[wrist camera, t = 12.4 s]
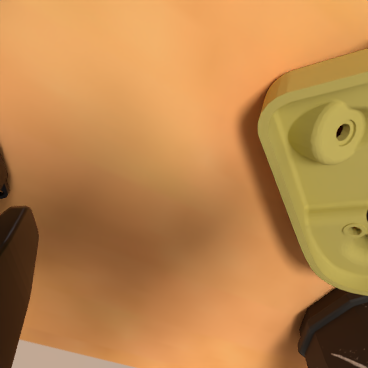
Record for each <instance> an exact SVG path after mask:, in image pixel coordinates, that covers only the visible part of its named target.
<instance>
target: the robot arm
mask: <svg viewBox="0 0 368 368" xmlns="http://www.w3.org/2000/svg"><path fill="white" fill-rule="evenodd" d="M7 176H8V174H7V171H6V168H5V166H4V163H3V160H2V157H1V154H0V190H1V191H3V192H0V199H3V198H6V197H7V196H8V194H9V191H10V189H9V186H8V183H7V181H6V178H7ZM366 218H367V222H368V210H367V213H366ZM38 240H39V234H38V229H37V226H36V222H35V219H34V216H33V213H32V210H31V208H30V207H28V206H14V207H10V208H8V209H7V210H6V211H5V212H3V213H2V214H1V215H0V368H11V367H12V364H13V360H14V356H15V353H16V349H17V345H18V341H19V338H20V334H21V330H22V327H23V323H24V319H25V316H26V312H27V308H28V304H29V300H30V295H31V289H32V282H33V275H34V268H35V261H36V254H37V247H38Z"/></svg>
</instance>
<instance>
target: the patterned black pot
mask: <svg viewBox="0 0 368 368" xmlns="http://www.w3.org/2000/svg"><path fill="white" fill-rule="evenodd" d="M299 331H300V336H301V338H300V340H299V343H298V351H299V353H300V354H301V355H303V356H304V357H305V358H306V362H307V365H308V368H368V296H366V295H360V294H355V293H351V292H347V291H344V290H341V289H339V288H335V289H334V290H333V291H331V292H330V293H328V294H327V295H326V296H324V297H323V298H321V299H320V300H319V301H317V302H316V303H314V304H313V305H312V306H310V307H309V308H308V309H307V312H306V314H305V317H304V319H303V322H302V324H301V327H300V329H299Z"/></svg>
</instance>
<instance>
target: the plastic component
mask: <svg viewBox="0 0 368 368" xmlns="http://www.w3.org/2000/svg"><path fill="white" fill-rule="evenodd" d="M342 124H343V130H342V132H341V134H340V135H339V136H338V137H337V138H336V132H337V130H338V128H339V127H340V126H341V125H342ZM258 136H259V138H260V141H261V144H262V146H263V149H264V152H265V154H266V157H267V160H268V162H269V165H270V168H271V170H272V173H273V176H274V178H275V181H276V184H277V186H278V189H279V192H280V194H281V197H282V200H283V202H284V205H285V208H286V210H287V213H288V216H289V218H290V221H291V223H292V226H293V229H294V231H295V234H296V237H297V239H298V242H299V245H300V247H301V249H302V252H303V254H304V256H305V258H306V260H307V262H308V264H309V266H310V267H311V269H312V270H313V271H314V272H315V273H316V275H317V276H319V277H320V278H321V279H322V280H324V281H325V282H326V283H328V284H330V285H332V286H334V287H336V288H339V289H341V290H344V291H347V292H351V293H355V294H360V295H366V296H368V222H367V218H366V213H367V210H368V48H367V49H363V50H360V51H356V52H353V53H350V54H346V55H343V56H340V57H336V58H333V59H329V60H326V61H323V62H319V63H316V64H312V65H309V66H306V67H302V68H299V69H296V70H292V71H290V72H288V73H286V74H284V75H282V76H281V77H279V78H278V79H277V80H276V81H275V82H274V83H273V84H272V85H271V86H270V88H269V90H268V91H267V94H266V96H265V100H264V103H263V107H262V110H261V113H260V117H259V120H258Z"/></svg>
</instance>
